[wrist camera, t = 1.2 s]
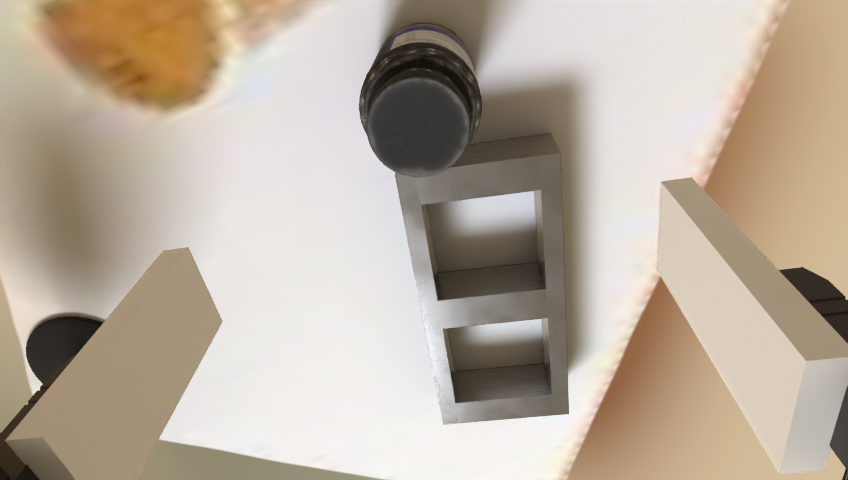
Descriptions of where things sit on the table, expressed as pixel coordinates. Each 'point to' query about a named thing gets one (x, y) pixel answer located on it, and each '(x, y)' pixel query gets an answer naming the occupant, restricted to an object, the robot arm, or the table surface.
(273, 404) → the table surface
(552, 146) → the rectangular frame
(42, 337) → the wine glass
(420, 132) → the pill bottle
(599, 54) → the table surface
